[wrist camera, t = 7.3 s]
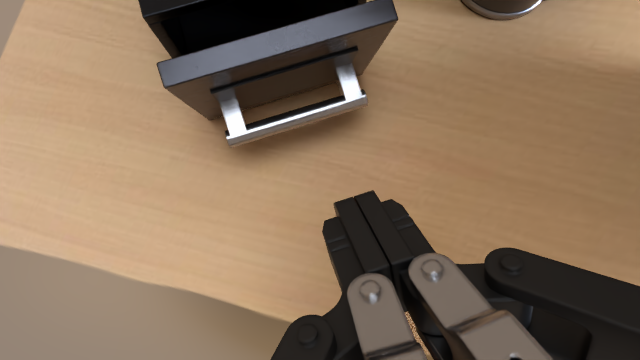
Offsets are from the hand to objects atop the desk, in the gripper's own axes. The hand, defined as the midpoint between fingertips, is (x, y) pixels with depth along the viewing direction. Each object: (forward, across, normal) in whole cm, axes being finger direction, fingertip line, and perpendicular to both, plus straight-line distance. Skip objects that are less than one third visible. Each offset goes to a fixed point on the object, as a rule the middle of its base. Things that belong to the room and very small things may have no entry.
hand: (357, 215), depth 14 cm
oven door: (+23, 0, -5) cm, 24 cm away
